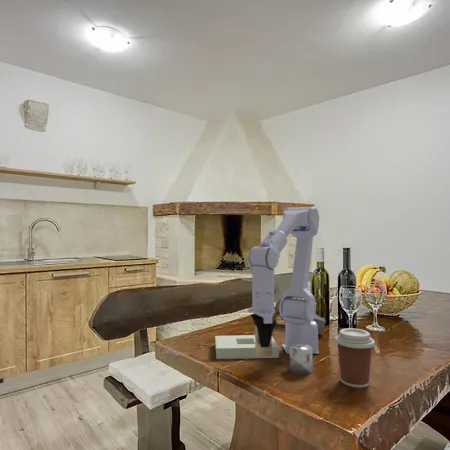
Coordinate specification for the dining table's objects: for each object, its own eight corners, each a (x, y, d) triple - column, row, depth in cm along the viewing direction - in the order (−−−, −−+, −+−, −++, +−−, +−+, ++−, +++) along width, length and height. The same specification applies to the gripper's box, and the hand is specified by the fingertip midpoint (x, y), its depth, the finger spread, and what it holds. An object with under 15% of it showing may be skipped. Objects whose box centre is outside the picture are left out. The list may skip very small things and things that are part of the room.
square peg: (269, 350, 94) (269, 324, 94) (271, 355, 91) (271, 328, 91) (255, 351, 94) (255, 324, 94) (257, 356, 90) (257, 328, 90)
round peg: (308, 365, 96) (308, 343, 96) (315, 374, 90) (315, 350, 90) (287, 366, 96) (287, 343, 96) (292, 374, 90) (292, 351, 90)
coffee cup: (353, 371, 92) (352, 325, 92) (383, 385, 84) (383, 334, 84) (327, 378, 87) (326, 330, 87) (356, 393, 79) (356, 340, 79)
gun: (309, 358, 125) (322, 322, 120) (265, 318, 144) (275, 286, 139) (315, 356, 127) (328, 320, 122) (271, 317, 146) (281, 285, 141)
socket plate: (271, 344, 114) (271, 334, 114) (278, 357, 102) (278, 347, 102) (215, 345, 113) (215, 335, 113) (216, 359, 101) (216, 348, 101)
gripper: (244, 287, 100) (245, 335, 99) (251, 297, 85) (251, 354, 85) (269, 287, 100) (269, 335, 100) (280, 297, 85) (280, 353, 85)
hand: (263, 344), depth 92 cm, fingers closed on square peg, 4 cm apart
